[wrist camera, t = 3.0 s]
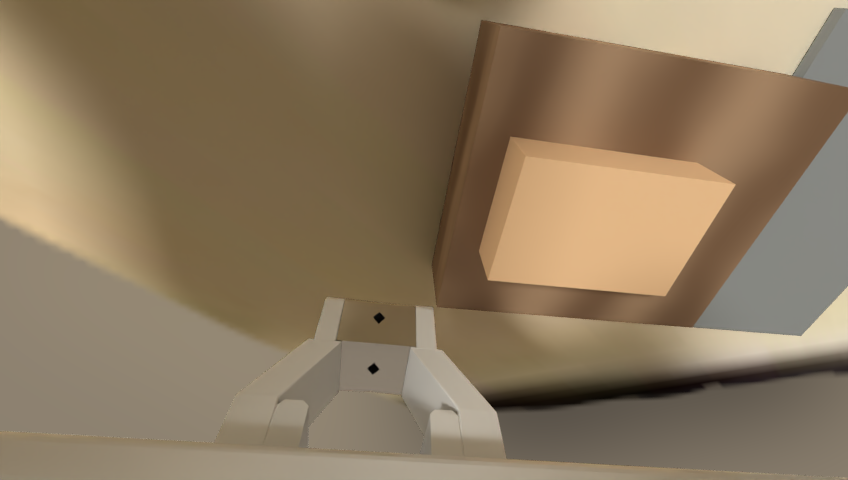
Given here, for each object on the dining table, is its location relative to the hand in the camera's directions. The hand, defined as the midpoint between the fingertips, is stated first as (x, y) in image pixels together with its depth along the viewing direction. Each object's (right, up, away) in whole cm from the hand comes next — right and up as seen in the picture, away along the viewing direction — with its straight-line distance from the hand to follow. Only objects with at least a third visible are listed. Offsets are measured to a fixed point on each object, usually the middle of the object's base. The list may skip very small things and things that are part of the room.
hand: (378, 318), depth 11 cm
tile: (+9, +4, +8) cm, 12 cm away
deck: (+11, +6, +11) cm, 17 cm away
